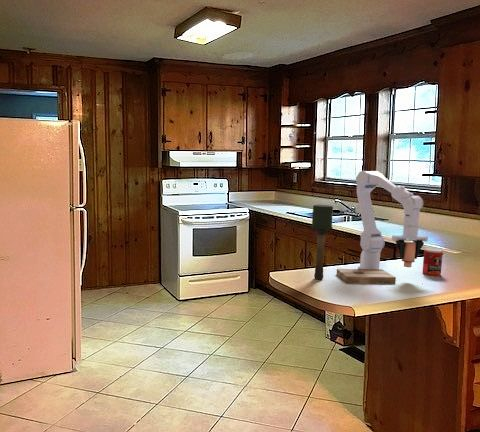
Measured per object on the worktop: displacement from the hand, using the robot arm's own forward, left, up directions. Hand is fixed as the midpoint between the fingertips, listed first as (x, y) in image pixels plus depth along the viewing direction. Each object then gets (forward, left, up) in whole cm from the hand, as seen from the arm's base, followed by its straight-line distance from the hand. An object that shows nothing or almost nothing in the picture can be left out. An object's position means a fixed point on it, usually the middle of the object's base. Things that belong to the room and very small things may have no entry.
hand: (408, 258), depth 215 cm
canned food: (-12, +17, -10) cm, 23 cm away
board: (-2, -17, -9) cm, 20 cm away
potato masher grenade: (-1, -37, -10) cm, 38 cm away
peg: (0, 0, -3) cm, 3 cm away
